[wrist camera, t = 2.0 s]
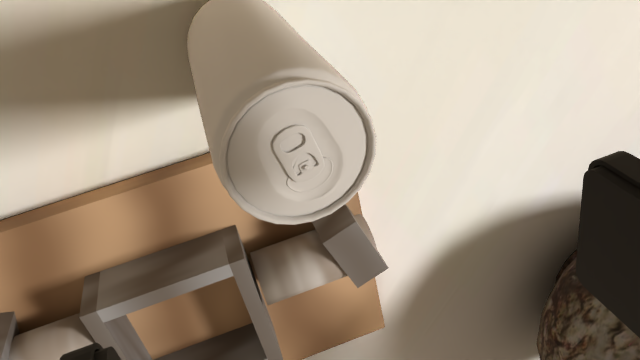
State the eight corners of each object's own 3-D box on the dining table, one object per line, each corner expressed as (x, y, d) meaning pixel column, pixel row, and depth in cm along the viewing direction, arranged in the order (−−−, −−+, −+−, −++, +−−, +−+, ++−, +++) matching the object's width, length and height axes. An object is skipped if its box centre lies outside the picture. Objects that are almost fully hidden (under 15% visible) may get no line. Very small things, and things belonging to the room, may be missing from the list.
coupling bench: (337, 111, 28) (366, 146, 24) (379, 314, 37) (405, 363, 33) (-98, 252, 25) (-138, 316, 21) (60, 436, 34) (50, 505, 30)
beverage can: (217, 109, 26) (264, 255, 16) (163, 21, 23) (179, 132, 13) (302, 62, 26) (402, 179, 16) (258, -31, 23) (345, 41, 13)
